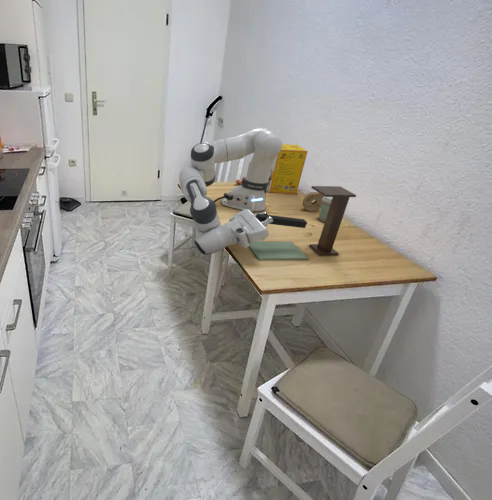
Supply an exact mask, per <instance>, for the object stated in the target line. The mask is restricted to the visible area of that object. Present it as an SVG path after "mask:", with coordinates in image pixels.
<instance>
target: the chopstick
mask: <svg viewBox="0 0 492 500" xmlns="http://www.w3.org/2000/svg"><path fill="white" fill-rule="evenodd" d="M241 181H242V180H241V179H236V183H237V184H238V186H240V185H241Z"/></svg>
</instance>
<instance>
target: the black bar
mask: <svg viewBox="0 0 492 500" xmlns="http://www.w3.org/2000/svg"><path fill="white" fill-rule="evenodd" d="M256 214H257V213H256ZM268 217H271V218H272V219H273V222H271V223H269V224H268V225H275V226H284V227H290V228H291V227H292V228H299V229H300V228H302V229H305V228H306V227H307V224H308V222H307V221H306V220H305V219H304V218H297V217H295V218H294V217H289V216H288V217H287V216H279V215H272V214H268V215H265V214H257V215H256V218H257V219H258V220H259V221H260V222H262V221H265V220H266V218H268Z"/></svg>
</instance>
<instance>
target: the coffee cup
mask: <svg viewBox="0 0 492 500" xmlns="http://www.w3.org/2000/svg"><path fill="white" fill-rule="evenodd" d="M332 198H333V197H325V196H324V197H323V198H322V205H321V208H320V209H319V210H320V211H319V216H318V220H319V221H320V222H321V223H322V222H323V223H325V220H326V217H327V214H328V211H329V208H330V204H331V201H332Z"/></svg>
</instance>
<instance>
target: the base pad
mask: <svg viewBox="0 0 492 500" xmlns="http://www.w3.org/2000/svg"><path fill="white" fill-rule="evenodd" d="M248 248H249V249H250V251H251V252H252V253H253V255H254V256H255V257H256V258H257V259H258V260H259V261H285V260H286V261H291V260H292V261H293V260H295V261H296V260H297V261H298V260H303V261H304V260H308V259H309V257H308V256H307V254H305V253H304V252H303V251H302V250H301V249H300V248H299V247H298V246H297V245H296V244H295V243H293V242H292V241H259V242H257V243H254V244H250V243H249V246H248Z"/></svg>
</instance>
